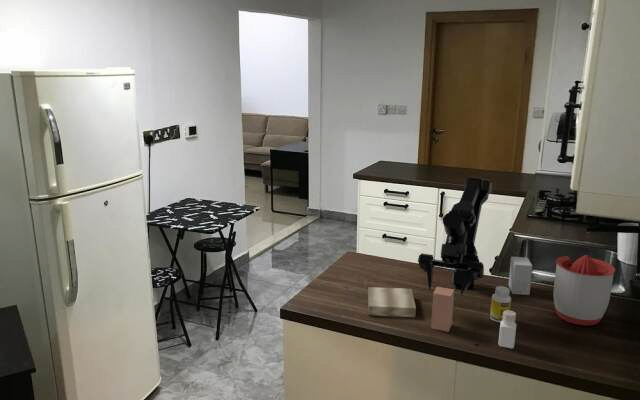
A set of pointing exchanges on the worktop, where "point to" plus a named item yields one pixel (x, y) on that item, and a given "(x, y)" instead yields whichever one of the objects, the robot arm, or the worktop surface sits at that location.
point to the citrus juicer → (582, 289)
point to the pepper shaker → (507, 329)
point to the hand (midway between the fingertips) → (445, 292)
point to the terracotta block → (442, 309)
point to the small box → (520, 275)
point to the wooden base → (391, 302)
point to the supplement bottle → (500, 303)
